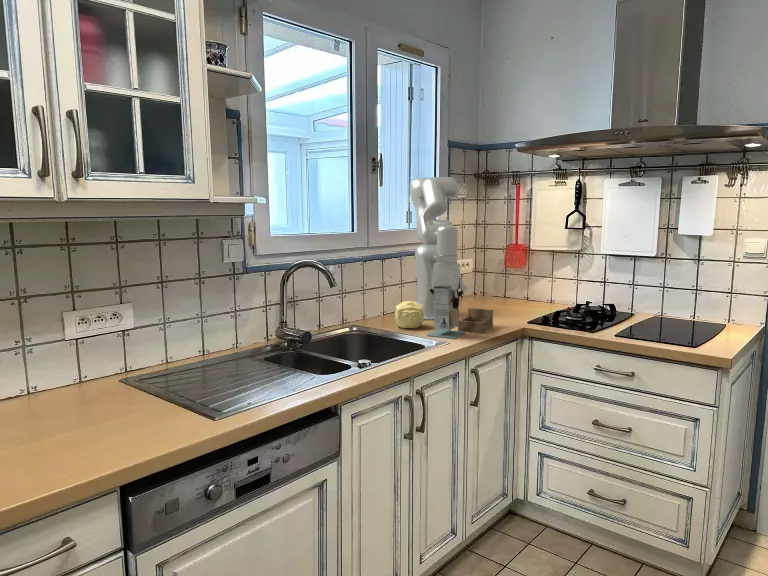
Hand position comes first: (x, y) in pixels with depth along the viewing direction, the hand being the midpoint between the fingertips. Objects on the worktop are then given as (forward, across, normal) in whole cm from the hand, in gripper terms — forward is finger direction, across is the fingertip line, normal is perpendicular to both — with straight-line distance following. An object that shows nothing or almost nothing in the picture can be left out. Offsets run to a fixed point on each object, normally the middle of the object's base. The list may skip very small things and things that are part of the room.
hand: (446, 306), depth 210 cm
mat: (+11, 0, 0) cm, 11 cm away
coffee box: (+8, 0, 0) cm, 8 cm away
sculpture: (+11, -18, +6) cm, 22 cm away
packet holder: (+11, +7, +14) cm, 19 cm away
